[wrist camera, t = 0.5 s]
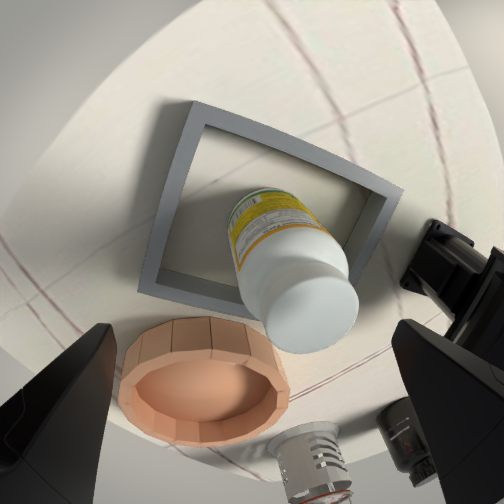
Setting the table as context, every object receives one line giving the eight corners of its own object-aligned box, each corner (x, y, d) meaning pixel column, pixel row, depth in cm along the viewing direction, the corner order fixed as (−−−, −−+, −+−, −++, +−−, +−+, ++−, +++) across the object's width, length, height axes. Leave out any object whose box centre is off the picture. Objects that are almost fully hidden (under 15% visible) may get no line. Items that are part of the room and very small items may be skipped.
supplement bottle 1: (227, 185, 19) (251, 261, 11) (311, 187, 20) (388, 256, 11) (226, 263, 21) (245, 370, 13) (302, 261, 22) (357, 356, 14)
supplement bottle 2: (384, 402, 34) (423, 476, 23) (425, 389, 35) (465, 455, 24) (368, 429, 37) (398, 497, 26) (406, 418, 38) (439, 478, 28)
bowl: (306, 335, 26) (319, 365, 23) (247, 425, 31) (252, 451, 28) (136, 298, 22) (128, 330, 19) (118, 404, 27) (114, 433, 24)
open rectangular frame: (388, 181, 20) (404, 189, 19) (317, 317, 25) (325, 333, 23) (194, 100, 16) (194, 100, 15) (141, 275, 21) (137, 292, 19)
